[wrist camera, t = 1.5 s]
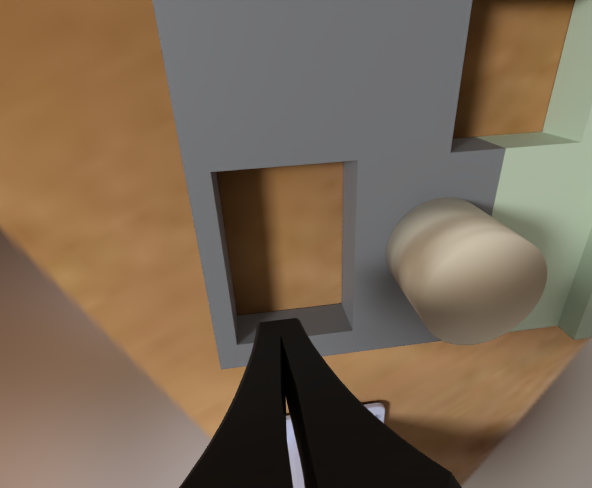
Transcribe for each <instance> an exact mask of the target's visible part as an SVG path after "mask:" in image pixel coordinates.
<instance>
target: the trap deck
mask: <svg viewBox="0 0 592 488" xmlns="http://www.w3.org/2000/svg"><path fill="white" fill-rule="evenodd" d="M152 1H153V6H154V11H155V17H156V22H157V27H158V33H159V38H160V44H161V49H162V54H163V60H164V65H165V70H166V76H167V81H168V87H169V92H170V97H171V103H172V108H173V114H174V119H175V124H176V130H177V135H178V140H179V146H180V151H181V157H182V162H183V167H184V173H185V178H186V183H187V189H188V194H189V200H190V205H191V210H192V216H193V221H194V227H195V232H196V237H197V243H198V248H199V253H200V259H201V264H202V270H203V275H204V280H205V286H206V291H207V296H208V302H209V307H210V313H211V318H212V323H213V329H214V334H215V340H216V345H217V350H218V356H219V361H220V366H221V369H228V368H236V367H243V366H247V364H248V361H249V358H250V355H251V352H252V348H253V344H254V340H255V335H256V325H257V324H258V323H259V322H266V321H274V320H283V319H291V318H297V319H299V320H300V322H301V324H302V326H303V328H304V330H305V332H306V334H307V335H308V337H309V339H310V340H311V342H312V343H313V345H314V346H315V348H316V349H317V351H318V352H319V354H320V355H321V356H328V355H336V354H343V353H351V352H359V351H366V350H374V349H382V348H389V347H397V346H405V345H412V344H420V343H428V342H436V341H442V340H440V339H438V338H437V337H435V336H434V335H433V334H432V333H431V332H430V331H429V330H428V328H427V327H426V325H425V324H424V322H423V321H422V319H421V318H420V316H419V315H418V313H417V312H416V310H415V309H414V307H413V306H412V304H411V303H410V302H409V300H408V299H407V297H406V296H405V294H404V293H403V291H402V290H401V288H400V287H399V285H398V284H397V282H396V281H395V279H394V278H393V276H392V275H391V273H390V271H389V269H388V266H387V261H386V249H387V244H388V241H389V238H390V236H391V233H392V232H393V230H394V228H395V227H396V225H397V224H398V223H399V221H400V220H401V219H402V218H403V217H404V216H405V215H406V214H408V213H409V212H410V211H411V210H413V209H414V208H416V207H417V206H419V205H421V204H423V203H425V202H428V201H430V200H434V199H437V198H444V197H453V198H459V199H463V200H466V201H468V202H470V203H471V204H473V205H475V206H476V207H478V208H479V209H481V210H482V211H484V212H485V213H487V214H488V215H490V216H491V217H493V218H494V219H496V220H497V221H499V222H500V223H502V224H503V225H505V226H506V227H508V228H509V229H511V230H512V231H514V232H515V233H517V234H518V235H520V236H521V237H523V238H524V239H526V240H527V241H529V242H530V243H532V244H533V245H535V246H536V247H537V248H538V249H539V250H540V252H541V253H542V255H543V257H544V259H545V261H546V265H547V281H546V285H545V289H544V292H543V294H542V296H541V298H540V300H539V302H538V303H537V305H536V306H535V308H534V309H533V310H532V312H531V313H530V314H529V315H528V316H527V317H526V318H525V319H524V320H523V321H522V322H521V323H520V324H518V325H517V326H516V327H514V328H513V329H512V330H510V331H508V332H513V331H520V330H528V329H536V328H543V327H551V326H558V327H559V328H561V329H562V330H563V331H564V332H565V333H566V334H567V335H569V336H570V337H571V338H572V339H573V340H577V339H584V338H591V335H592V0H575V3H574V7H573V11H572V15H571V19H570V23H569V27H568V31H567V35H566V39H565V43H564V47H563V51H562V55H561V59H560V63H559V67H558V71H557V75H556V79H555V83H554V87H553V91H552V95H551V99H550V103H549V107H548V111H547V115H546V119H545V123H544V127H543V131H542V132H533V133H520V134H507V135H494V136H481V137H468V138H455V139H452V138H453V131H454V124H455V117H456V111H457V104H458V97H459V90H460V83H461V76H462V69H463V62H464V55H465V48H466V41H467V34H468V27H469V21H470V14H471V7H472V0H152ZM342 161H344V171H343V243H342V303H341V304H333V305H324V306H316V307H307V308H299V309H290V310H282V311H273V312H265V313H256V314H247V315H239V316H237V311H236V304H235V297H234V290H233V283H232V276H231V269H230V263H229V256H228V249H227V242H226V235H225V228H224V221H223V214H222V208H221V201H220V194H219V187H218V180H217V173H216V172H218V171H231V170H243V169H255V168H268V167H280V166H293V165H305V164H318V163H330V162H342Z"/></svg>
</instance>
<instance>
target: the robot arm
mask: <svg viewBox="0 0 592 488" xmlns="http://www.w3.org/2000/svg"><path fill="white" fill-rule="evenodd" d="M286 400H287V404H288V409H289V413H290V415H288V416H286ZM384 417H385V408H384V405H383V404H382V403H371V404H364V405H363V404H362V403H361V402H360V401H359V400H358V399H357V398H356V397H355V396H354V395H353V394H352V393H351V392H350V391H349V390H348V388H347V387H346V386H345V385H344V384H343V383H342V382H341V381H340V379H339V378H338V377H337V376H336V375H335V373H334V372H333V371H332V370H331V368H330V367H329V366H328V365H327V363H326V362H325V360H324V359H323V358H322V356H321V355H320V354H319V352H318V351H317V349H316V348H315V346H314V345H313V343H312V342H311V340H310V339H309V337H308V335H307V334H306V332H305V330H304V328H303V326H302V324H301V322H300V320H299V319H297V318H291V319H283V320H274V321H266V322H259V323H258V324H257V325H256V335H255V340H254V344H253V348H252V352H251V355H250V358H249V361H248V364H247V367H246V370H245V373H244V375H243V378H242V380H241V382H240V385H239V387H238V390H237V392H236V394H235V397H234V399H233V401H232V403H231V405H230V407H229V409H228V411H227V413H226V415H225V417H224V419H223V421H222V423H221V424H220V426H219V428H218V429H217V431H216V433H215V435H214V436H213V438H212V440H211V442H210V443H209V445H208V446H207V448H206V450H205V451H204V453H203V454H202V456H201V457H200V459H199V460H198V462H197V463H196V464H195V466H194V467H193V469H192V470H191V472H190V473H189V475H188V476H187V477H186V479H185V480H184V482H183V483H182V485H181V486H180V487H179V488H461V486H460V485H459V483H458V482H457V480H456V479H455V477H454V476H453V475H452V473H451V472H450V471H448V470H447V469H445V468H444V467H442V466H440V465H439V464H437V463H436V462H434V461H433V460H431V459H430V458H428V457H427V456H425V455H424V454H423V453H421V452H420V451H418V450H417V449H416V448H414V447H413V446H412V445H410V444H409V443H408V442H406V441H405V440H404V439H402V438H401V437H400V436H398V435H397V434H396V433H395V432H394V431H392V430H391V429H390V428H389V427H388V426H387V425H385V424H384Z"/></svg>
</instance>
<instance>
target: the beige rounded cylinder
mask: <svg viewBox="0 0 592 488" xmlns="http://www.w3.org/2000/svg"><path fill="white" fill-rule="evenodd" d="M386 261H387V266H388V269H389V271H390V273H391V275H392V276H393V278H394V279H395V281H396V282H397V284H398V285H399V287H400V288H401V290H402V291H403V293H404V294H405V296H406V297H407V299H408V300H409V302H410V303H411V304H412V306H413V307H414V309H415V310H416V312H417V313H418V315H419V316H420V318H421V319H422V321H423V322H424V324H425V325H426V327H427V328H428V330H429V331H430V332H431V333H432V334H433V335H434V336H435V337H437V338H438V339H440V340H442V341H444V342H447V343H451V344H456V345H473V344H479V343H483V342H487V341H490V340H492V339H495V338H497V337H499V336H501V335H503V334H505V333H507V332H508V331H510V330H512V329H513V328H514V327H516V326H517V325H518V324H520V323H521V322H522V321H523V320H524V319H525V318H526V317H527V316H528V315H529V314H530V313H531V312H532V310H533V309H534V308H535V306H536V305H537V303H538V302H539V300H540V298H541V296H542V294H543V292H544V289H545V285H546V281H547V265H546V261H545V259H544V257H543V255H542V253H541V252H540V250H539V249H538V248H537V247H536V246H535V245H533V244H532V243H530V242H529V241H527V240H526V239H524V238H523V237H521V236H520V235H518V234H517V233H515V232H514V231H512V230H511V229H509V228H508V227H506V226H505V225H503V224H502V223H500V222H499V221H497V220H496V219H494V218H493V217H491V216H490V215H488V214H487V213H485V212H484V211H482V210H481V209H479V208H478V207H476V206H475V205H473V204H471V203H470V202H468V201H466V200H463V199H459V198H453V197H444V198H437V199H434V200H430V201H428V202H425V203H423V204H421V205H419V206H417V207H416V208H414V209H413V210H411V211H410V212H409V213H408V214H406V215H405V216H404V217H403V218H402V219H401V220H400V221H399V223H398V224H397V225H396V227H395V228H394V230H393V232H392V233H391V236H390V238H389V241H388V244H387V249H386Z"/></svg>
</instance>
